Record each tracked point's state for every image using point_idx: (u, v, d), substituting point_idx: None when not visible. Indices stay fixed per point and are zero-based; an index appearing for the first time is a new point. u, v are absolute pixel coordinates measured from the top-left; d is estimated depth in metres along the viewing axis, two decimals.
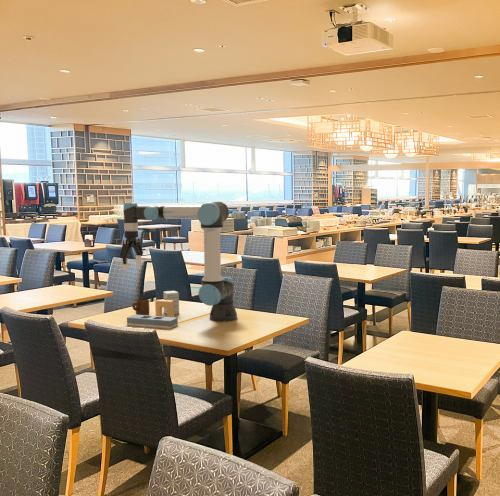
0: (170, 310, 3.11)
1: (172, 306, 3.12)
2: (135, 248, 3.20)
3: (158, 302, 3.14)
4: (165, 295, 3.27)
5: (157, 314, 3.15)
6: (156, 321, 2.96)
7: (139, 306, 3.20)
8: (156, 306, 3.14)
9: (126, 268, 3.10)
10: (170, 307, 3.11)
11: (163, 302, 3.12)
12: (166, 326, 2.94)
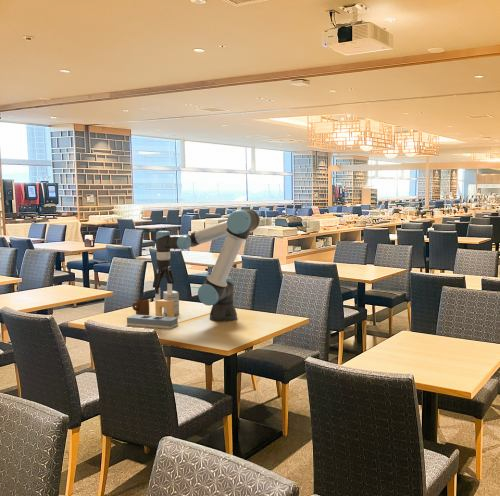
0: (170, 310, 3.11)
1: (172, 306, 3.12)
2: (167, 277, 3.16)
3: (158, 302, 3.14)
4: (165, 295, 3.27)
5: (157, 314, 3.15)
6: (156, 321, 2.96)
7: (139, 306, 3.20)
8: (156, 306, 3.14)
9: (158, 298, 3.07)
10: (170, 307, 3.11)
11: (163, 302, 3.12)
12: (166, 326, 2.94)
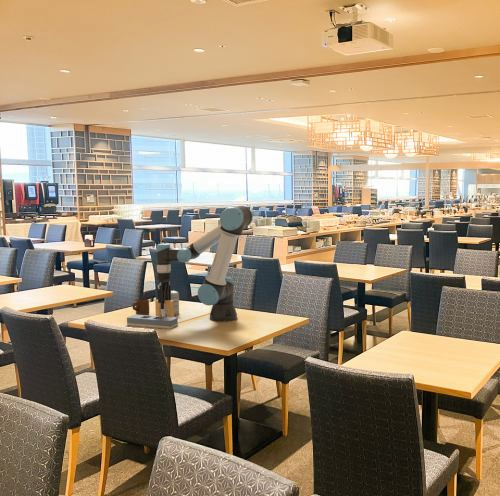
0: (170, 310, 3.11)
1: (172, 306, 3.12)
2: (165, 291, 3.15)
3: None
4: None
5: (157, 314, 3.15)
6: (156, 321, 2.96)
7: (139, 306, 3.20)
8: (156, 306, 3.14)
9: (164, 313, 3.12)
10: (170, 307, 3.11)
11: None
12: (166, 326, 2.94)
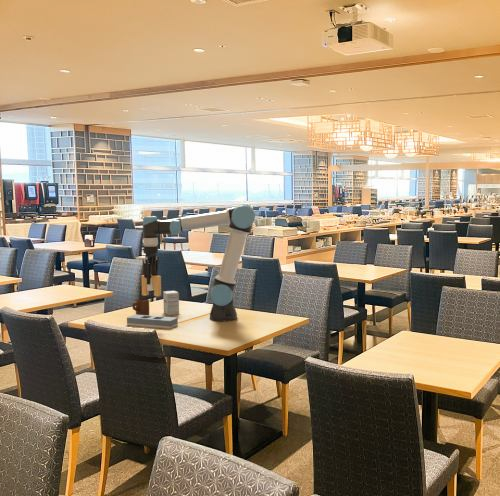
0: (156, 285, 2.98)
1: (159, 281, 2.98)
2: (152, 266, 3.01)
3: (144, 277, 3.00)
4: (165, 295, 3.27)
5: (143, 290, 3.01)
6: (156, 321, 2.96)
7: (139, 306, 3.20)
8: (142, 281, 3.00)
9: (150, 288, 2.98)
10: (156, 282, 2.97)
11: None
12: (166, 326, 2.94)
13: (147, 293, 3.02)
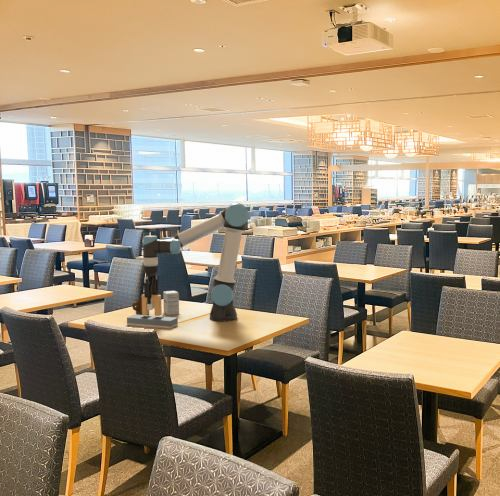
0: (157, 305, 2.98)
1: (159, 301, 2.98)
2: (152, 285, 3.01)
3: (144, 297, 3.00)
4: (165, 295, 3.27)
5: (143, 309, 3.01)
6: (156, 321, 2.96)
7: (139, 306, 3.20)
8: (142, 301, 3.01)
9: (151, 308, 2.99)
10: (157, 302, 2.98)
11: None
12: (166, 326, 2.94)
13: (147, 312, 3.02)
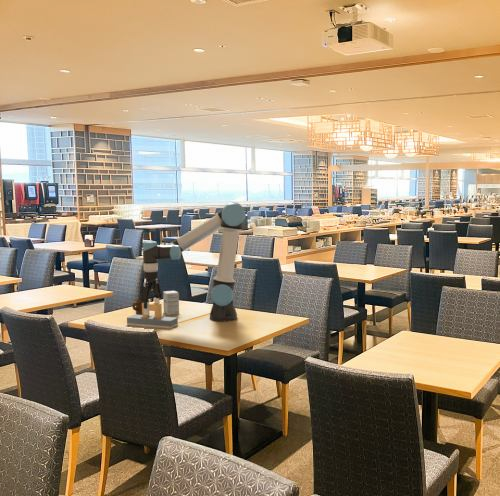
0: (157, 313, 2.98)
1: (159, 309, 2.99)
2: (154, 290, 3.03)
3: None
4: (165, 295, 3.27)
5: None
6: (156, 321, 2.96)
7: (139, 306, 3.20)
8: (143, 309, 3.01)
9: (147, 312, 2.95)
10: (157, 310, 2.98)
11: (150, 305, 2.99)
12: (166, 326, 2.94)
13: None
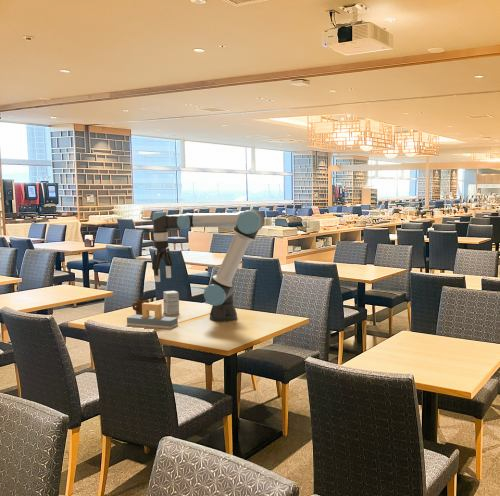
0: (157, 313, 2.98)
1: (159, 309, 2.99)
2: (165, 258, 3.09)
3: (145, 305, 3.00)
4: (165, 295, 3.27)
5: None
6: (156, 321, 2.96)
7: (139, 306, 3.20)
8: (143, 309, 3.01)
9: (158, 280, 2.99)
10: (157, 310, 2.98)
11: (150, 305, 2.99)
12: (166, 326, 2.94)
13: None
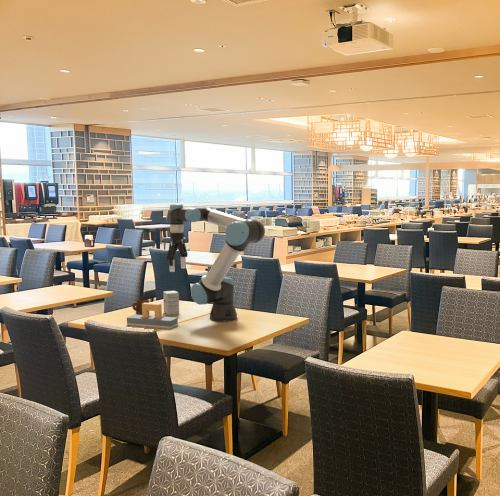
0: (157, 313, 2.98)
1: (159, 309, 2.99)
2: (180, 250, 3.20)
3: (145, 305, 3.00)
4: (165, 295, 3.27)
5: None
6: (156, 321, 2.96)
7: (139, 306, 3.20)
8: (143, 309, 3.01)
9: (173, 270, 3.10)
10: (157, 310, 2.98)
11: (150, 305, 2.99)
12: (166, 326, 2.94)
13: None
